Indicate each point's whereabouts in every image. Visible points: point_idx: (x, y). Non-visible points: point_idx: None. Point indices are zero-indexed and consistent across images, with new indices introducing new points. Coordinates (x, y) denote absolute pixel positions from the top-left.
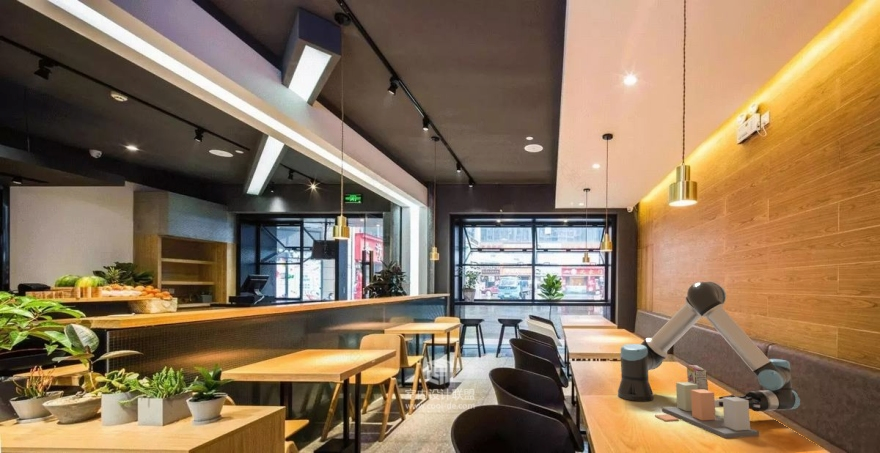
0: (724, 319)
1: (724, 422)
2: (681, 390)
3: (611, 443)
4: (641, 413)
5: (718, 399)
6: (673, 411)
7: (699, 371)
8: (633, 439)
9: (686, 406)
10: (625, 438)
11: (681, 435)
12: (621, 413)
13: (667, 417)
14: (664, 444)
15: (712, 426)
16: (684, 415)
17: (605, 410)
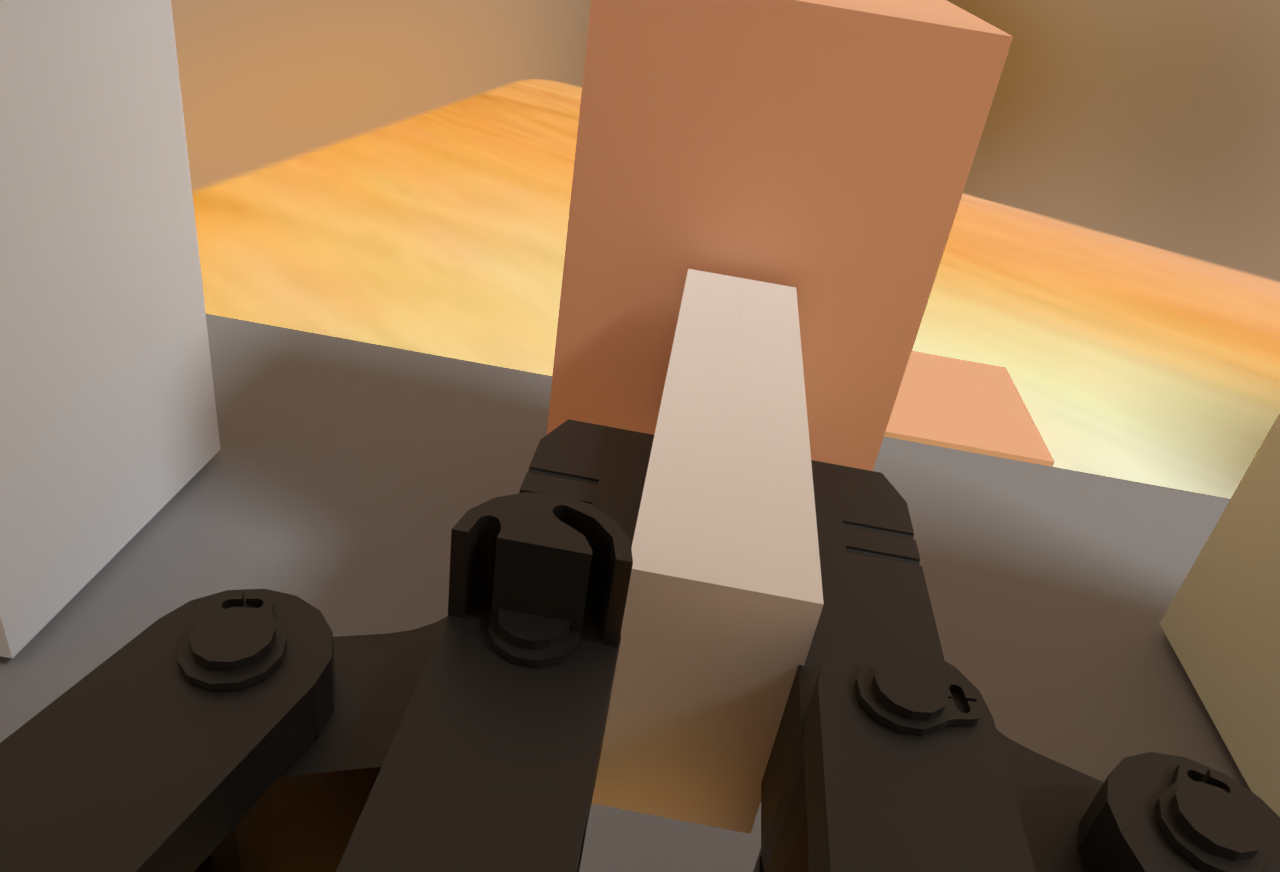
0: None
1: (208, 391)
2: None
3: (533, 89)
4: (1120, 377)
5: (741, 416)
6: (1112, 494)
7: None
8: (533, 125)
9: (1204, 564)
10: (563, 121)
11: (441, 231)
12: (1089, 299)
13: (911, 388)
14: (385, 135)
15: (346, 374)
16: (890, 462)
17: (1167, 285)
